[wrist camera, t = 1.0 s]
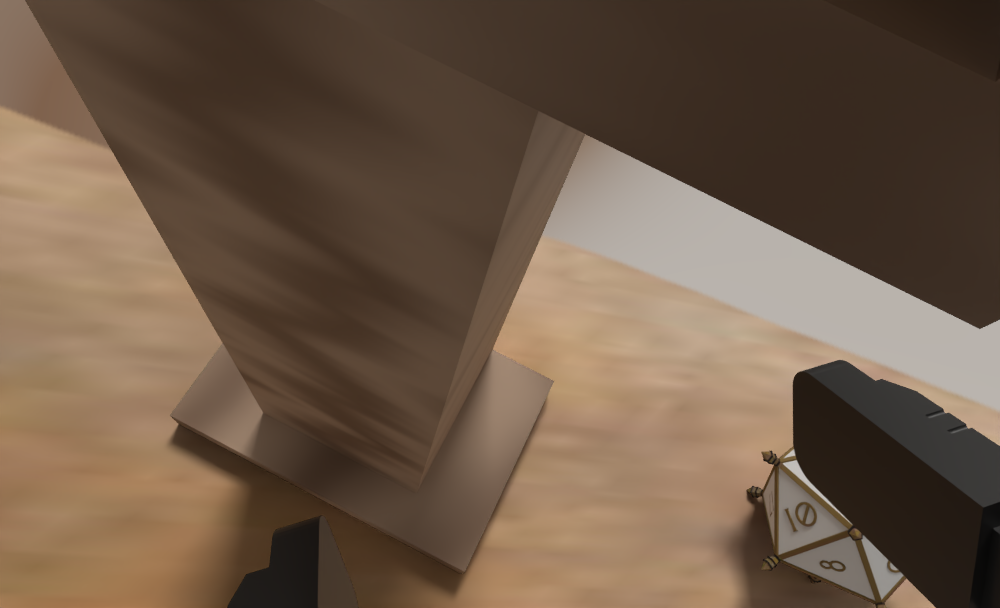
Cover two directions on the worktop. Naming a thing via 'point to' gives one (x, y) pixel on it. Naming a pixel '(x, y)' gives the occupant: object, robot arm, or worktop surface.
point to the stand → (502, 193)
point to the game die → (820, 536)
